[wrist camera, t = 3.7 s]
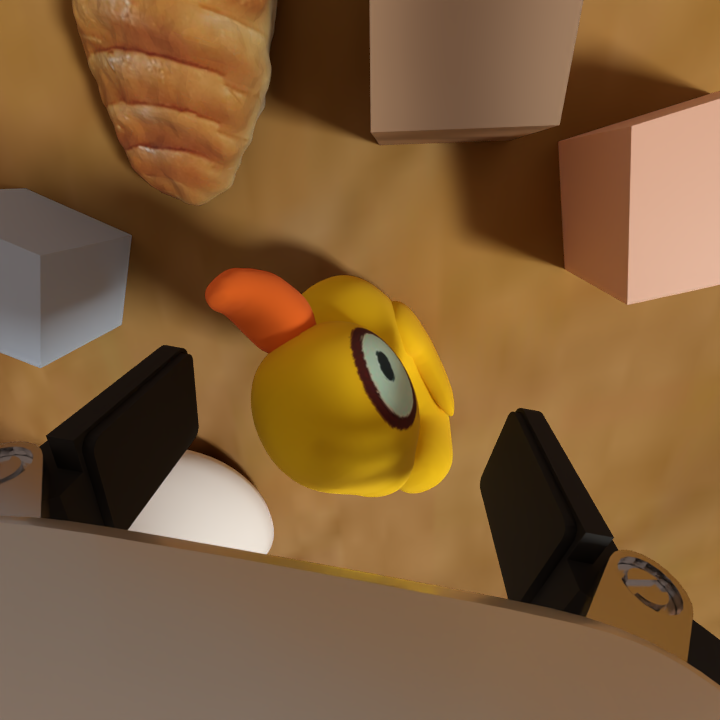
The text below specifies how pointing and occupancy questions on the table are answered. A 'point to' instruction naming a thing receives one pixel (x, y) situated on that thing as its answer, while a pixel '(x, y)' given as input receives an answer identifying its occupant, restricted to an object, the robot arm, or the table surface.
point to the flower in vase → (208, 507)
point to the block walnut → (468, 68)
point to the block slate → (56, 277)
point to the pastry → (181, 84)
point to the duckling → (342, 383)
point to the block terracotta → (645, 202)
